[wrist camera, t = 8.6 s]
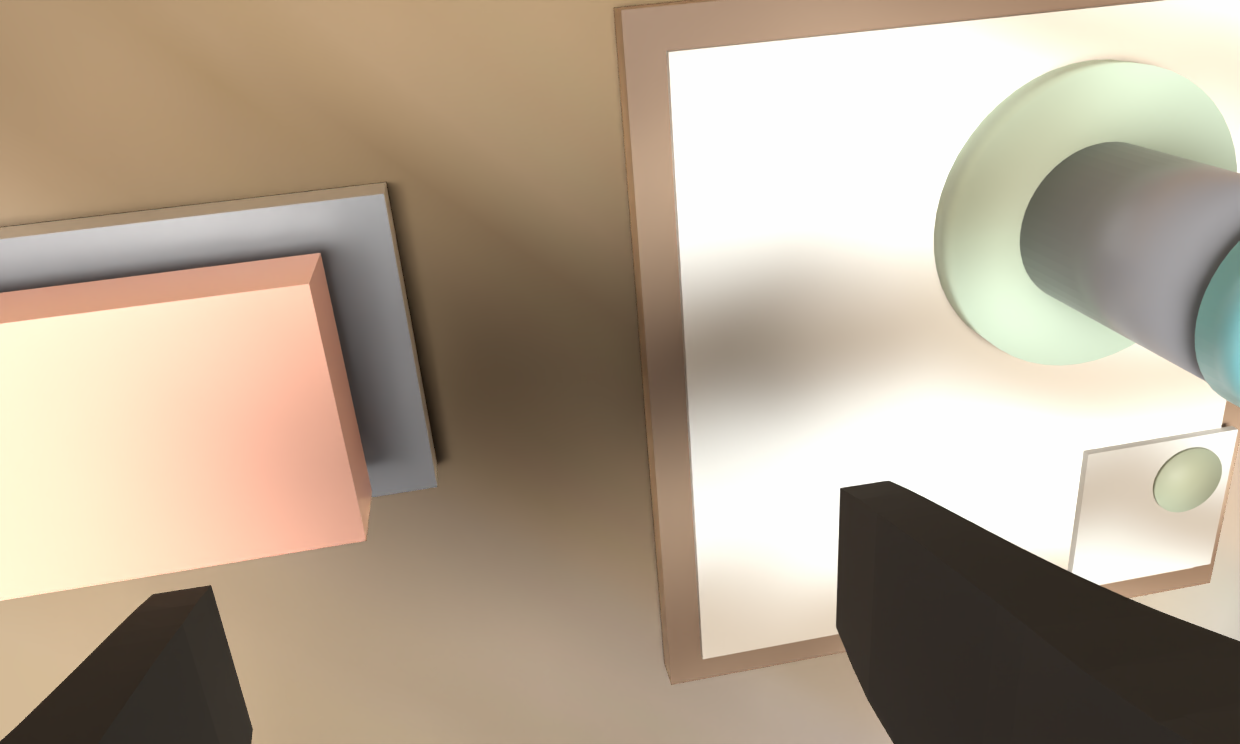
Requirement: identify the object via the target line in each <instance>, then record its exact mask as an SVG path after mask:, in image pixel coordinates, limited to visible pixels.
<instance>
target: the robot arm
mask: <svg viewBox="0 0 1240 744" xmlns="http://www.w3.org/2000/svg"><path fill="white" fill-rule="evenodd" d="M836 629H837V631H838V633H839V636H840V638H841V640H842V643H843V645H844V648H845V650H846V652H847V655H848V657H849V659H850V662H851V664H852V666H853V669H854V671H855V673H856V675H857V677H858V680H859V682H860V684H861V686H862V688H863V691H864V693H865V695H866V697H867V699H868V701H869V703H870V705H871V706H872V708H873V710H874V711H875V713H876V715H877V717H878V718H879V720H880V722H881V723H882V725H883V727H884V728H885V730H886V732H887V733H888V735H889V737H890V738H891V740H892V742H893V743H894V744H1240V641H1237V640H1235V639H1232V638H1229V637H1226V636H1224V635H1221V634H1218V633H1216V632H1213V631H1210V630H1208V629H1205V628H1202V627H1200V626H1197V625H1194V624H1192V623H1189V622H1186V621H1184V620H1181V619H1178V618H1176V617H1173V616H1170V615H1168V614H1165V613H1163V612H1160V611H1158V610H1155V609H1153V608H1150V607H1148V606H1146V605H1143V604H1141V603H1138V602H1136V601H1134V600H1131V599H1129V598H1127V597H1124V596H1122V595H1120V594H1118V593H1116V592H1113V591H1111V590H1109V589H1107V588H1105V587H1102V586H1100V585H1098V584H1096V583H1093V582H1091V581H1089V580H1087V579H1085V578H1082V577H1080V576H1078V575H1076V574H1074V573H1072V572H1069V571H1067V570H1065V569H1063V568H1061V567H1059V566H1057V565H1055V564H1053V563H1051V562H1049V561H1047V560H1045V559H1043V558H1041V557H1039V556H1037V555H1035V554H1033V553H1031V552H1029V551H1027V550H1025V549H1023V548H1021V547H1019V546H1017V545H1015V544H1013V543H1011V542H1009V541H1007V540H1005V539H1003V538H1001V537H999V536H998V535H996V534H994V533H992V532H990V531H988V530H986V529H984V528H982V527H980V526H978V525H977V524H975V523H973V522H971V521H969V520H967V519H965V518H963V517H961V516H960V515H958V514H956V513H954V512H952V511H950V510H948V509H946V508H944V507H942V506H941V505H939V504H937V503H935V502H933V501H931V500H929V499H927V498H925V497H923V496H921V495H919V494H917V493H915V492H913V491H911V490H909V489H907V488H905V487H903V486H900V485H898V484H896V483H894V482H891V481H889V480H888V481H881V482H875V483H868V484H862V485H856V486H849V487H843V488H840V505H839V538H838V572H837V605H836ZM252 731H253V729H252V725H251V722H250V718H249V715H248V711H247V708H246V705H245V701H244V698H243V694H242V691H241V687H240V684H239V680H238V677H237V673H236V670H235V666H234V663H233V660H232V656H231V653H230V649H229V646H228V642H227V639H226V635H225V632H224V628H223V625H222V621H221V618H220V615H219V611H218V608H217V604H216V601H215V597H214V594H213V590H212V587H211V585H210V586H204V587H197V588H191V589H184V590H178V591H171V592H165V593H159V594H153V595H152V596H150V597H149V598H148V599H147V600H146V601H145V602H144V603H143V604H141V605H140V606H139V607H138V608H137V609H136V610H135V611H134V612H133V613H132V614H131V615H130V616H129V617H128V618H127V619H126V620H125V621H124V622H123V623H121V624H120V625H119V626H118V627H117V628H116V629H115V630H114V631H113V632H112V633H111V634H110V635H109V636H108V637H107V638H106V639H105V640H104V641H103V642H102V643H101V644H100V645H99V646H98V647H97V648H96V649H95V650H94V651H93V652H92V653H91V654H90V655H89V656H88V657H87V658H86V659H85V660H84V661H83V662H82V663H81V664H80V665H79V666H78V667H77V668H76V669H75V670H74V671H73V672H72V673H71V674H70V675H69V676H68V677H67V678H66V679H65V680H64V681H63V682H62V683H61V684H60V685H59V686H58V687H57V688H56V689H55V690H54V691H53V692H52V693H51V694H50V695H49V696H48V697H47V698H46V699H44V700H43V701H42V702H41V703H40V704H39V705H38V706H37V707H36V708H35V709H34V710H33V711H32V712H31V713H30V714H29V715H28V716H27V717H26V718H25V719H24V720H23V721H22V722H21V723H20V724H19V725H18V726H17V727H16V728H15V729H13V730H12V731H11V732H10V733H9V734H8V735H7V736H6V737H5V738H3V739H2V740H1V741H0V744H251V740H252Z"/></svg>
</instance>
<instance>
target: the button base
mask: <svg viewBox="0 0 1240 744" xmlns="http://www.w3.org/2000/svg"><path fill="white" fill-rule="evenodd" d="M315 253H321V257H322V262H323V267H324V271H325V276H326V280H327V285H328V290H329V294H330V299H331V304H332V308H333V313H334V318H335V322H336V327H337V331H338V336H339V341H340V345H341V350H342V355H343V359H344V364H345V369H346V373H347V378H348V382H349V387H350V392H351V396H352V401H353V406H354V410H355V415H356V420H357V424H358V429H359V433H360V438H361V443H362V447H363V452H364V457H365V461H366V466H367V471H368V475H369V480H370V484H371V489H372V496H371V497H377V496H383V495H390V494H396V493H402V492H409V491H415V490H421V489H428V488H434V487H437V461H436V456H435V450H434V444H433V439H432V433H431V428H430V422H429V417H428V411H427V406H426V400H425V395H424V389H423V384H422V378H421V373H420V367H419V362H418V356H417V351H416V345H415V339H414V334H413V328H412V323H411V317H410V312H409V306H408V301H407V295H406V290H405V284H404V279H403V273H402V268H401V262H400V257H399V251H398V246H397V240H396V234H395V229H394V223H393V218H392V212H391V207H390V201H389V196H388V190H387V185H386V182H384V183H375V184H367V185H358V186H350V187H341V188H333V189H324V190H316V191H307V192H298V193H290V194H281V195H273V196H264V197H256V198H247V199H239V200H230V201H222V202H213V203H205V204H196V205H188V206H179V207H170V208H162V209H153V210H145V211H136V212H128V213H119V214H111V215H102V216H94V217H85V218H77V219H68V220H60V221H51V222H42V223H34V224H25V225H17V226H8V227H0V293H3V292H11V291H19V290H27V289H35V288H43V287H51V286H59V285H67V284H75V283H83V282H91V281H99V280H107V279H115V278H123V277H131V276H139V275H147V274H155V273H163V272H171V271H179V270H187V269H195V268H203V267H211V266H219V265H227V264H235V263H243V262H251V261H259V260H267V259H275V258H283V257H291V256H299V255H307V254H315Z"/></svg>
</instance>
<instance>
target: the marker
mask: <svg viewBox="0 0 1240 744" xmlns="http://www.w3.org/2000/svg"><path fill="white" fill-rule="evenodd" d="M1020 251H1021V257H1022V261H1023V265H1024V267H1025V270H1026V272H1027V274H1028V275H1029V277H1030V279H1031V280H1032V281H1033V283H1034V284H1035V285H1036V286H1037V287H1038V288H1039V289H1040V290H1042V291H1043V292H1044V293H1046V294H1048V295H1049V296H1051V297H1053V298H1055V299H1057V300H1058V301H1060V302H1062V303H1064V304H1066V305H1068V306H1069V307H1071V308H1073V309H1075V310H1077V311H1078V312H1080V313H1082V314H1084V315H1086V316H1088V317H1089V318H1091V319H1093V320H1095V321H1097V322H1098V323H1100V324H1102V325H1104V326H1106V327H1108V328H1109V329H1111V330H1113V331H1115V332H1117V333H1118V334H1120V335H1122V336H1124V337H1126V338H1128V339H1129V340H1131V341H1133V342H1135V343H1137V344H1138V345H1140V346H1142V347H1144V348H1146V349H1148V350H1149V351H1151V352H1153V353H1155V354H1157V355H1158V356H1160V357H1162V358H1164V359H1166V360H1168V361H1169V362H1171V363H1173V364H1175V365H1177V366H1178V367H1180V368H1182V369H1184V370H1186V371H1188V372H1189V373H1191V374H1193V375H1195V376H1197V377H1198V378H1200V379H1202V380H1204V381H1206V382H1207V383H1208V384H1209V386H1210V387H1211V388H1212V389H1213V390H1214V391H1215V392H1216V393H1217V394H1218V395H1219V396H1221V397H1222V398H1224V399H1226V400H1227V401H1229V402H1231V403H1233V404H1234V405H1236V406H1238V407H1240V173H1237V172H1233V171H1230V170H1226V169H1222V168H1219V167H1215V166H1211V165H1207V164H1204V163H1200V162H1196V161H1193V160H1189V159H1185V158H1181V157H1178V156H1174V155H1170V154H1167V153H1163V152H1159V151H1155V150H1152V149H1148V148H1144V147H1141V146H1137V145H1133V144H1129V143H1125V142H1104V143H1099V144H1095V145H1092V146H1089V147H1086V148H1084V149H1081V150H1079V151H1077V152H1075V153H1074V154H1072V155H1070V156H1069V157H1067V158H1066V159H1064V160H1063V161H1062V162H1061V163H1059V164H1058V165H1057V166H1056V167H1055V168H1054V169H1053V170H1052V171H1051V172H1050V173H1049V174H1048V175H1047V176H1046V177H1045V178H1044V180H1043V181H1042V182H1041V183H1040V185H1039V186H1038V188H1037V189H1036V191H1035V192H1034V194H1033V196H1032V198H1031V200H1030V202H1029V204H1028V206H1027V209H1026V211H1025V214H1024V218H1023V221H1022V226H1021V232H1020Z"/></svg>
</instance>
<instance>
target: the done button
mask: <svg viewBox="0 0 1240 744" xmlns="http://www.w3.org/2000/svg"><path fill="white" fill-rule="evenodd" d="M371 496H372V489H371V484H370V480H369V475H368V471H367V466H366V461H365V457H364V452H363V447H362V443H361V438H360V433H359V429H358V424H357V420H356V415H355V410H354V406H353V401H352V396H351V392H350V387H349V382H348V378H347V373H346V369H345V364H344V359H343V355H342V350H341V345H340V341H339V336H338V331H337V327H336V322H335V318H334V313H333V308H332V304H331V299H330V294H329V290H328V285H327V280H326V276H325V271H324V267H323V262H322V257H321V253H315V254H307V255H299V256H291V257H283V258H275V259H267V260H259V261H251V262H243V263H235V264H227V265H219V266H211V267H203V268H195V269H187V270H179V271H171V272H163V273H155V274H147V275H139V276H131V277H123V278H115V279H107V280H99V281H91V282H83V283H75V284H67V285H59V286H51V287H43V288H35V289H27V290H19V291H11V292H3V293H0V601H1V600H7V599H13V598H19V597H25V596H31V595H37V594H43V593H50V592H56V591H62V590H68V589H74V588H80V587H86V586H92V585H99V584H105V583H111V582H117V581H123V580H129V579H135V578H141V577H148V576H154V575H160V574H166V573H172V572H178V571H184V570H190V569H197V568H203V567H209V566H215V565H221V564H227V563H233V562H239V561H246V560H252V559H258V558H264V557H270V556H276V555H282V554H288V553H295V552H301V551H307V550H313V549H319V548H325V547H331V546H337V545H343V544H350V543H356V542H362V541H366V540H367V531H368V522H369V514H370V505H371Z"/></svg>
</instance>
